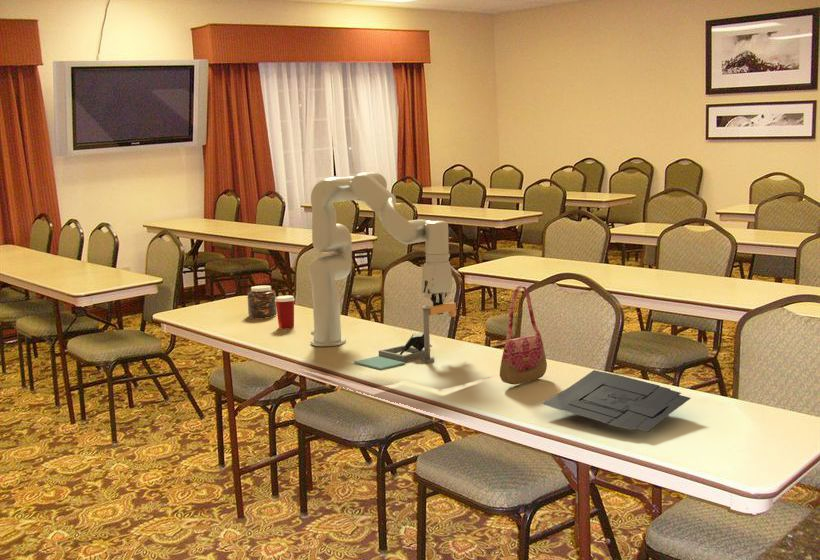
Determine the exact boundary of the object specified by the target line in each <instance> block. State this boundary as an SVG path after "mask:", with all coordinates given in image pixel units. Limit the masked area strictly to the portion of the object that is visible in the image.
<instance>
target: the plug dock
mask: <svg viewBox="0 0 820 560" xmlns="http://www.w3.org/2000/svg"><path fill="white" fill-rule="evenodd" d="M422 320H423V333H424V348H423V349H422V350H421V351H419V350H417V349H416V348H414V347H413V346H411V347H410V348H409V349H408V350H407V351H406V352H410V353H408V354H404V355H403V354H402V355H400V353H398V352H402V351H403V348H404V346H405V345H404V344H403V345H399V346H394V347H389V348H384V349H380V350H378V356H379V357H383V358H388V359H392V360H396V361H401V362H405V363H406V362H412V361H414V360H417V359H420V361H421V362H420V363H423V364H430V363H434V362H435V358H432V357H431V351H430V349H431V347H430V344H431V343H430V341H431V340H430V315H429V309H422Z"/></svg>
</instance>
